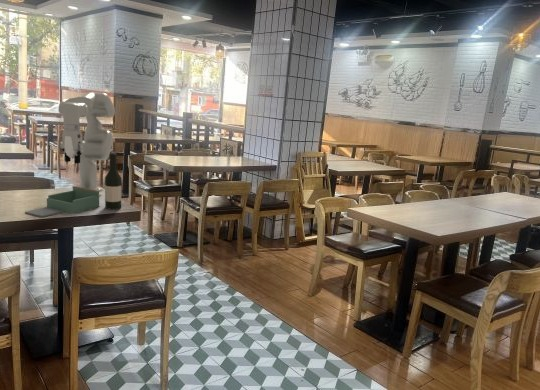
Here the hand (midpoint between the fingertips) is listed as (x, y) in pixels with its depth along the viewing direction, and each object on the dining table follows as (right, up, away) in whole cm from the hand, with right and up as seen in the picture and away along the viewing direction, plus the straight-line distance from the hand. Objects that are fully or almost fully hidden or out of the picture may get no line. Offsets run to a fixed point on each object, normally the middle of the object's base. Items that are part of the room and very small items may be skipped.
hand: (72, 162), depth 228 cm
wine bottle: (+18, -24, +10) cm, 32 cm away
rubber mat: (-10, -26, -9) cm, 30 cm away
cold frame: (-2, -24, +5) cm, 24 cm away
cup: (-1, -7, +2) cm, 7 cm away
